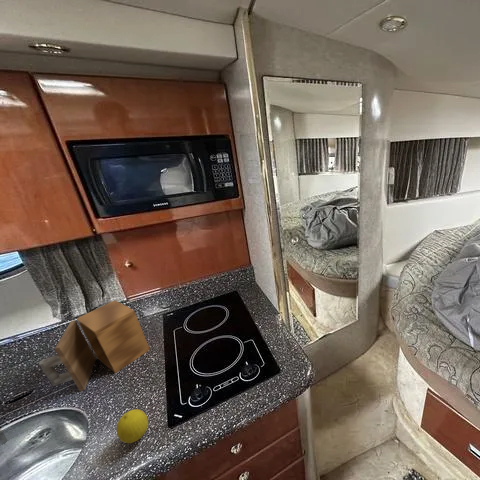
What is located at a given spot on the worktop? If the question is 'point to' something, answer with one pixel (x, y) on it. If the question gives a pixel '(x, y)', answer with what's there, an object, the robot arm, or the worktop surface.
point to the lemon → (132, 426)
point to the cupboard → (114, 335)
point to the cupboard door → (71, 358)
